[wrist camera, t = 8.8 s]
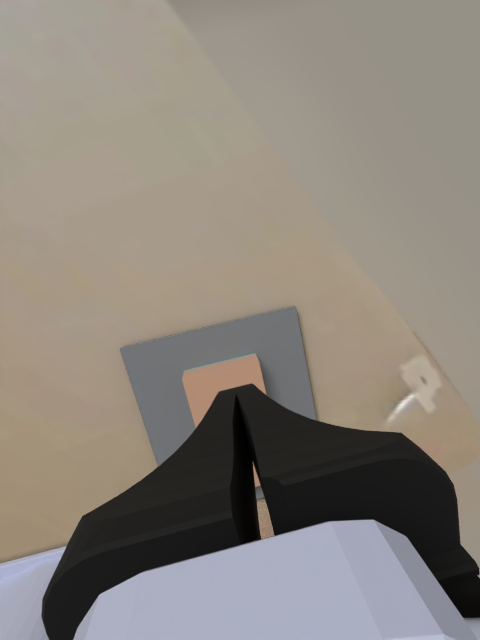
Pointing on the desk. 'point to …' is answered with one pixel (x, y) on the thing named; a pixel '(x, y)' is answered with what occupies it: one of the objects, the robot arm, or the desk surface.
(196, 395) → the tan wooden block
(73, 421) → the desk surface
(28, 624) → the robot arm
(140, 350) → the mat
